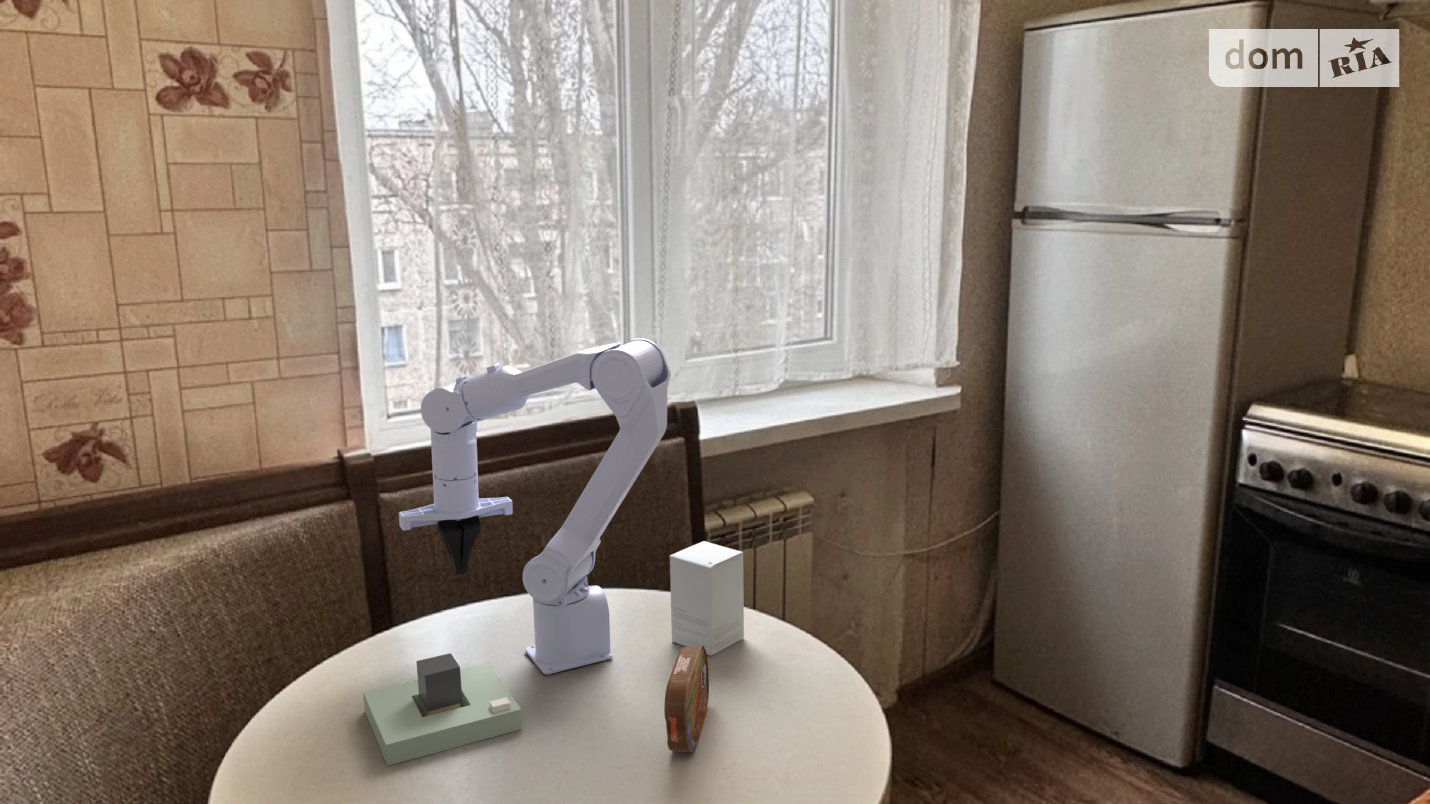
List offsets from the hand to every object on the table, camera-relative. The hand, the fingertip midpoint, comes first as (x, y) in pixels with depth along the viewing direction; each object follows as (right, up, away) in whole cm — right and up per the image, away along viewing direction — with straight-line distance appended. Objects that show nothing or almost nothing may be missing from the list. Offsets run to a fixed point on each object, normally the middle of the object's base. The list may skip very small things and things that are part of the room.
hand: (459, 571), depth 134 cm
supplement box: (+33, -10, +3) cm, 35 cm away
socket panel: (+2, -14, -17) cm, 22 cm away
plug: (+2, -14, -17) cm, 22 cm away
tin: (+31, -15, -19) cm, 40 cm away
